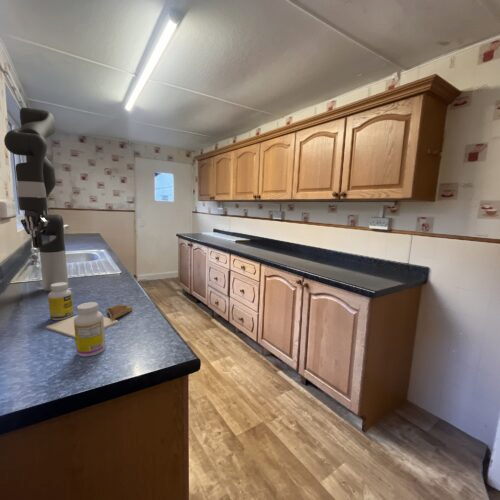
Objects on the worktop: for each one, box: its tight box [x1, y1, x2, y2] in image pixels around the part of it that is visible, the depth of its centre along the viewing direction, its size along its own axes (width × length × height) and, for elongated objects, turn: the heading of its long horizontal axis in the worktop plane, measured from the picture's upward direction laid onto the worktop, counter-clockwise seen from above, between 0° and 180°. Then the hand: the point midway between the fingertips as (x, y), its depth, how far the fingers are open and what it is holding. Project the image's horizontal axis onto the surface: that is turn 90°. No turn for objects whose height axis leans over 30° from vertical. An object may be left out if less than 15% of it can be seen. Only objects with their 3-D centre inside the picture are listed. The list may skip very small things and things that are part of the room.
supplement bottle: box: [74, 301, 106, 357], centre depth 71 cm, size 7×7×13 cm
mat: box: [45, 314, 119, 339], centre depth 87 cm, size 16×13×1 cm
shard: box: [106, 304, 133, 320], centre depth 95 cm, size 11×8×2 cm
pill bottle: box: [47, 282, 74, 321], centre depth 92 cm, size 6×6×12 cm
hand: (37, 247), depth 93 cm, fingers closed
